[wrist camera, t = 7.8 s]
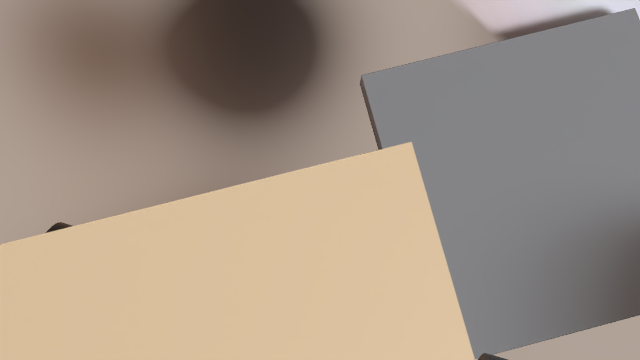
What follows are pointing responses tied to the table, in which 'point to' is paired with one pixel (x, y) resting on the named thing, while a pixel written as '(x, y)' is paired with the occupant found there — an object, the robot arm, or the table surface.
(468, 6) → the table surface
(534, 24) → the table surface
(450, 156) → the trivet
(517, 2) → the table surface
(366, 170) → the stool
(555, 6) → the table surface
